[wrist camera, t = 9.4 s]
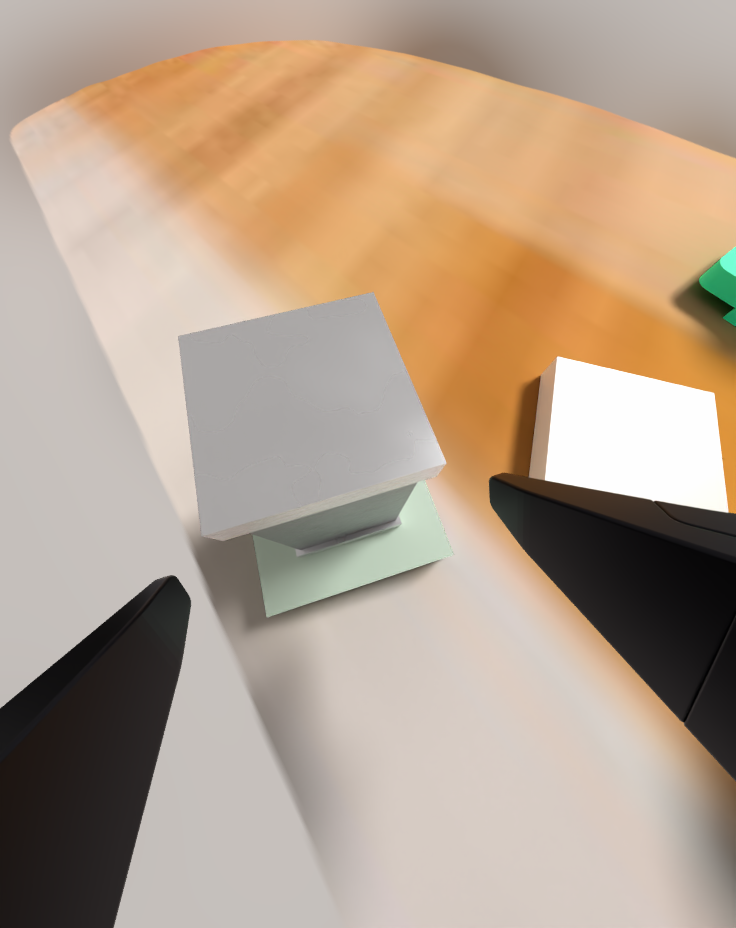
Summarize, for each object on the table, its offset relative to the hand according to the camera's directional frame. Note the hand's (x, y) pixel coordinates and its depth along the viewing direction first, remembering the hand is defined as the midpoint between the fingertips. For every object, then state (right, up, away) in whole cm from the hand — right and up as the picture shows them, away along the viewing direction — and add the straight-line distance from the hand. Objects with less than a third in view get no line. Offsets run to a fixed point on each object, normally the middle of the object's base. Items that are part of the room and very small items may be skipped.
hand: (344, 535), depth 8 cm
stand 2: (+17, +3, +12) cm, 21 cm away
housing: (-1, 0, +8) cm, 9 cm away
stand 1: (-1, 0, +10) cm, 10 cm away
